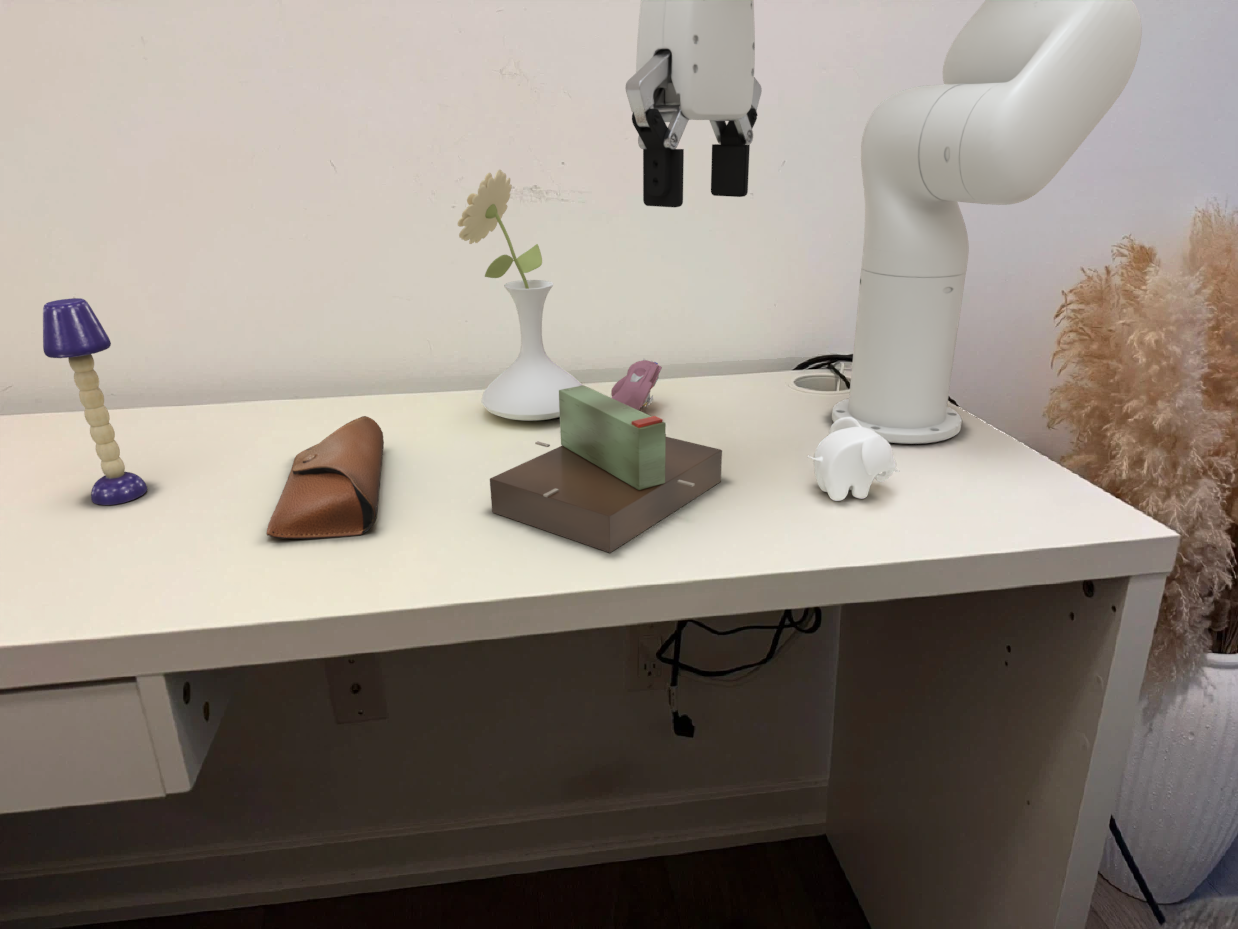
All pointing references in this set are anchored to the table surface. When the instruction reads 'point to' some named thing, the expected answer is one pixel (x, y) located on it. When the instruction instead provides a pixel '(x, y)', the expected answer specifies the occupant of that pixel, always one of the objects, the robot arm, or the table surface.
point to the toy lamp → (90, 391)
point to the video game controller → (637, 384)
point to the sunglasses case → (332, 486)
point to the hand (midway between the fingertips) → (697, 200)
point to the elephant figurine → (852, 459)
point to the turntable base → (600, 493)
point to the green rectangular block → (613, 436)
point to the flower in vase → (533, 374)
